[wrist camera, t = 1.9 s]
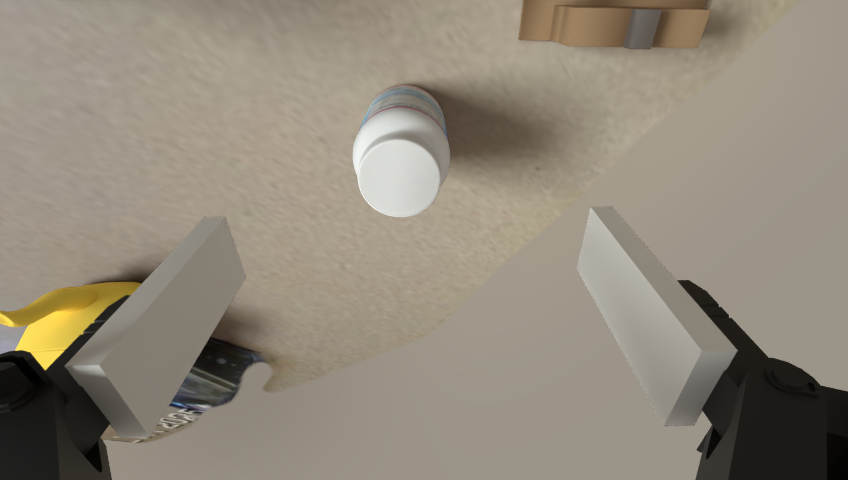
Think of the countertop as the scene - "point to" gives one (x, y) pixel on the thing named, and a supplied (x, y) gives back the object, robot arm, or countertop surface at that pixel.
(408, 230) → the countertop surface
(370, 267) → the countertop surface
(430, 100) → the pill bottle
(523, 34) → the clip stand
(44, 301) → the teapot
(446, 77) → the countertop surface
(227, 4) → the countertop surface
